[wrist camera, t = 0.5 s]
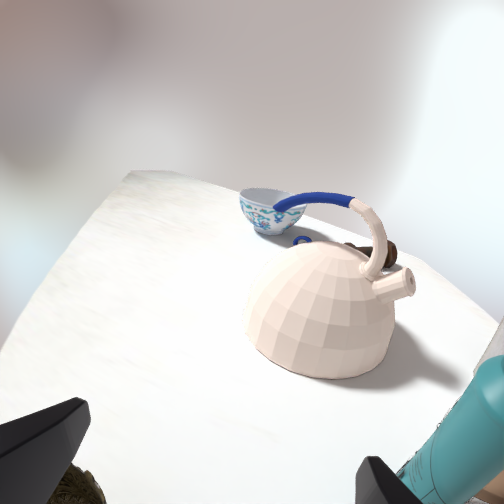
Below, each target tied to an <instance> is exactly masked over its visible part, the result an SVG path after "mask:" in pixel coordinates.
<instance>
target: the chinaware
mask: <svg viewBox="0 0 504 504" xmlns="http://www.w3.org/2000/svg"><path fill="white" fill-rule="evenodd" d="M294 195H295V194H293V193H289V192H285V191H281V190H275V189H268V188H248V189H244V190H241V191H240V192H239V199H240V205H241V208H242V211H243V213H244V215H245V216H246V218H247V219H248V220H249V221H250V222H251V223H252V224H253V225H254V229H255V230H256V231H257V232H260V233H262V234H267V235H280V234H282V233H283V231H284V230H285V229H287V228H289V227H291V226H292V225H294V224H295V223H296V222H297V221H298V220H299V219H300V218H301V216H302V215H303V213H304V211H305V209H306V206H307V204H302V205H298V206H295V207H292V208H290V209H288V210H287V211H285V212H277V211H275V210H274V209H273V206H274V205H275V204H276V203H278V202H279V201H281V200H283V199H286V198H288V197H290V196H294Z"/></svg>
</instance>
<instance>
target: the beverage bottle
mask: <svg viewBox="0 0 504 504" xmlns="http://www.w3.org/2000/svg"><path fill="white" fill-rule="evenodd" d="M459 398H460V397H459ZM459 398H458V399H459ZM458 399H457V400H458ZM457 400H456V401H457ZM456 401H455V402H456ZM451 409H452V410H451V411H449V412H448V413H449V414H448V415H446V414H445V415H446V418H445V419H443V422H442V421H441V422H442V423H439V424H440V426H439V427H437V429H436V431H435V432H434V433H433V434H432V436H431V437H430V438H429V439H428V441H427V442H426V443H425V444H424V445H423V446H422V448H421V449H420V450H418V451H417V452H415V453H416V454H415V456H414V455H413V456H414V457H413V458H412V459H411V460H410V461H407V462H406V463H405V464H404V465H403V467H402V468H403V469H402V468H400V470H399V471H400V472H399V471H398V472H399V473H398V472H397V473H398V474H397V473H396V475H397V477H398V478H399V479H400V480H401V481H402V482H403V483H404V484H405V485H406V486H407V487H408V488H409V489H410V490H411V491H412V492H413V493H414V494H415V495H416V496H417V497H418V499H419V500H420V501H421V502H422V503H423V504H464V503H465V502H466V503H467V501H469V499H471V498H472V497H473V496H474V495H475V494H477V493H479V492H480V490H481V489H483V488H484V487H485V486H486V485H487V484H489V482H490V481H492V480H493V479H494V478H495V477H496V476H497V475H498V474H499V473H501V472H502V471H503V470H504V355H499V356H495V357H492V358H489V359H487V360H486V361H484V362H483V363H482V364H481V365H480V366H479V368H478V370H477V372H476V374H475V376H474V378H473V380H472V381H471V383H470V384H469V386H468V387H467V389H466V390H465V392H464V393H463V395H462V396H461V398H460V399H459V401H457V402H456V403H455V406H453V407H452V408H451ZM444 417H445V416H444ZM406 464H407V465H406ZM405 465H406V466H405ZM404 466H405V467H404ZM401 469H402V470H401ZM484 489H485V488H484ZM484 489H483V490H484ZM483 490H482V491H483ZM482 491H481V492H482ZM481 492H480V493H481ZM480 493H479V494H480ZM475 497H476V496H475ZM475 497H473V498H475ZM473 498H472V499H473ZM472 499H471V500H472ZM466 503H465V504H466Z"/></svg>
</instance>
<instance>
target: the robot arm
mask: <svg viewBox="0 0 504 504" xmlns="http://www.w3.org/2000/svg"><path fill="white" fill-rule="evenodd" d="M90 422H91V417H90V411H89V406H88V403H87V401H86V400H83V399H81V398H78V397H75V398H72V399H69V400H67V401H64V402H62V403H59V404H56V405H54V406H51V407H49V408H46V409H43V410H40V411H38V412H35V413H32V414H30V415H27V416H24V417H21V418H18V419H16V420H13V421H10V422H7V423H4V424H1V425H0V504H46V503H47V501H48V500H49V498H50V496H51V495H52V493H53V491H54V490H55V488H56V486H57V485H58V483H59V481H60V480H61V478H62V477H63V475H64V473H65V472H66V470H67V469H68V467H69V465H70V464H71V462H72V460H73V459H74V457H75V455H76V453H77V451H78V449H79V446H80V444H81V442H82V440H83V438H84V436H85V433H86V431H87V429H88V427H89V425H90ZM355 504H423V503H422V502H421V501H420V500H419V499H418V497H417V496H416V495H415V494H414V493H413V492H412V491H411V490H410V489H409V488H408V487H407V486H406V485H405V484H404V483H403V482H402V481H401V480H400V479H399V478H398V477H397V475H396V474H395V473H394V472H393V471H392V470H391V469H390V468H389V467H388V466H387V465H386V464H385V463H384V462H383V460H382V459H381V458H380V457H378V456H367V457H365V459H364V460H363V462H362V464H361V466H360V467H359V469H358V471H357V473H356V496H355Z"/></svg>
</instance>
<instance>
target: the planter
mask: <svg viewBox="0 0 504 504" xmlns="http://www.w3.org/2000/svg"><path fill="white" fill-rule="evenodd" d="M499 355H504V317H503V319H502V321H501V323H500V325H499V327H498V329H497V331H496V333H495V334H494V336H493V338H492V340H491V342H490V344H489V345H488V347H487V349H486V351H485V352H484V354H483V356H482V358H481V359H480V361H479V363H478V364H477V366H476V367H475V369H474V371H473V372H474V376H475V374H476V372H477V370H478V368H479V366H480V365H481V364H482V363H483V362H484V361H486V360H487V359H489V358H492V357H495V356H499Z"/></svg>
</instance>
